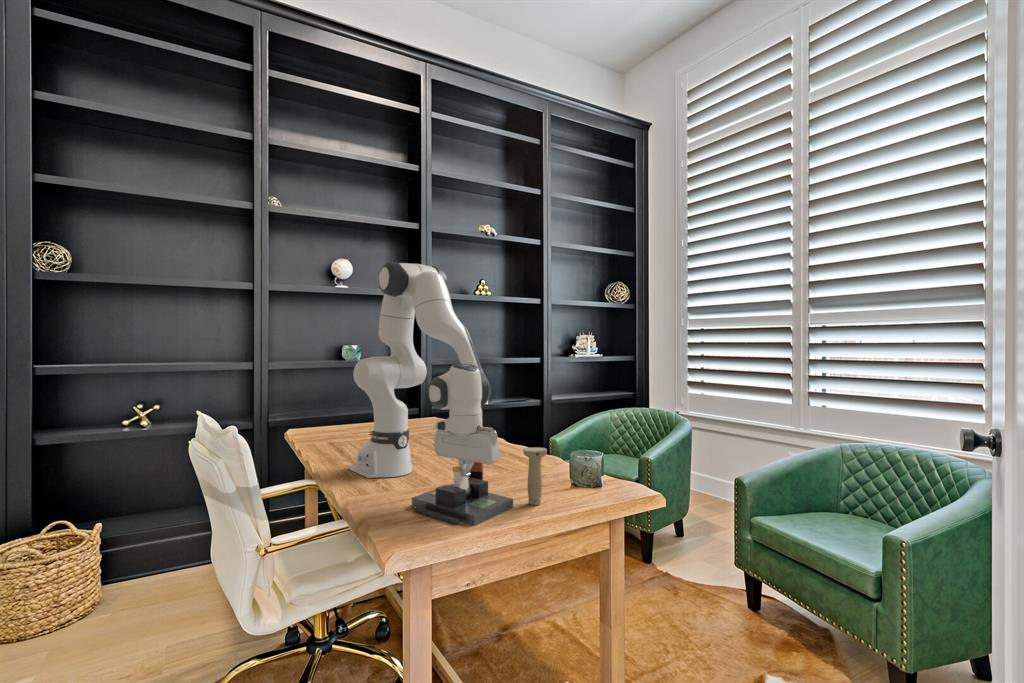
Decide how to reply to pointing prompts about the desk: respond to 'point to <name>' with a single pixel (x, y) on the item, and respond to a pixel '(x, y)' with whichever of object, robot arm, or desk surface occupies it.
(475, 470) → the battery
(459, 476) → the lever
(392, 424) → the robot arm
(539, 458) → the handle
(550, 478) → the desk surface
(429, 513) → the dark grey flat slab
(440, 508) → the panel
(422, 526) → the desk surface
